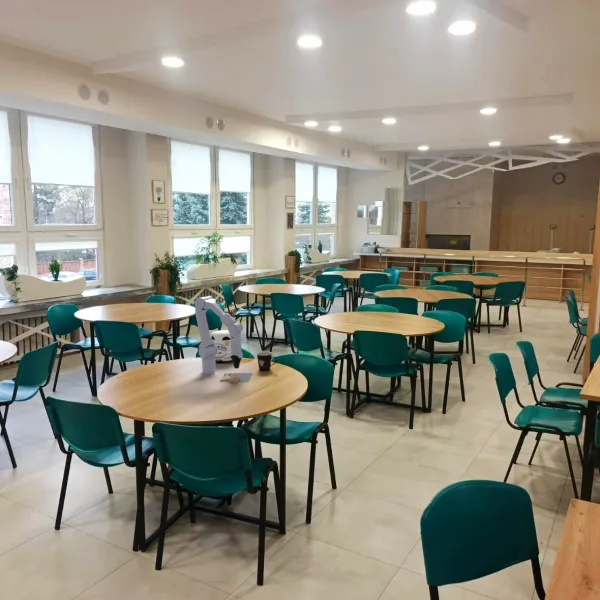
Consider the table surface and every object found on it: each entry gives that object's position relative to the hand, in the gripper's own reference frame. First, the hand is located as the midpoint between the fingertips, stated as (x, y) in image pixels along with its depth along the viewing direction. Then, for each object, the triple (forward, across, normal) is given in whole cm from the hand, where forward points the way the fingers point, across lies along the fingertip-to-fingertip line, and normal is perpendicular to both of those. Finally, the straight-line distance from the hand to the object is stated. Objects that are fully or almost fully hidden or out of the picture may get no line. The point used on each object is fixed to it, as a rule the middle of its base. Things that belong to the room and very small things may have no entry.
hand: (236, 368), depth 305 cm
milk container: (+6, -40, +8) cm, 41 cm away
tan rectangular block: (+4, +4, -2) cm, 6 cm away
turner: (+5, -2, -5) cm, 7 cm away
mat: (+5, +2, -1) cm, 6 cm away
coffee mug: (+5, -3, +20) cm, 21 cm away
